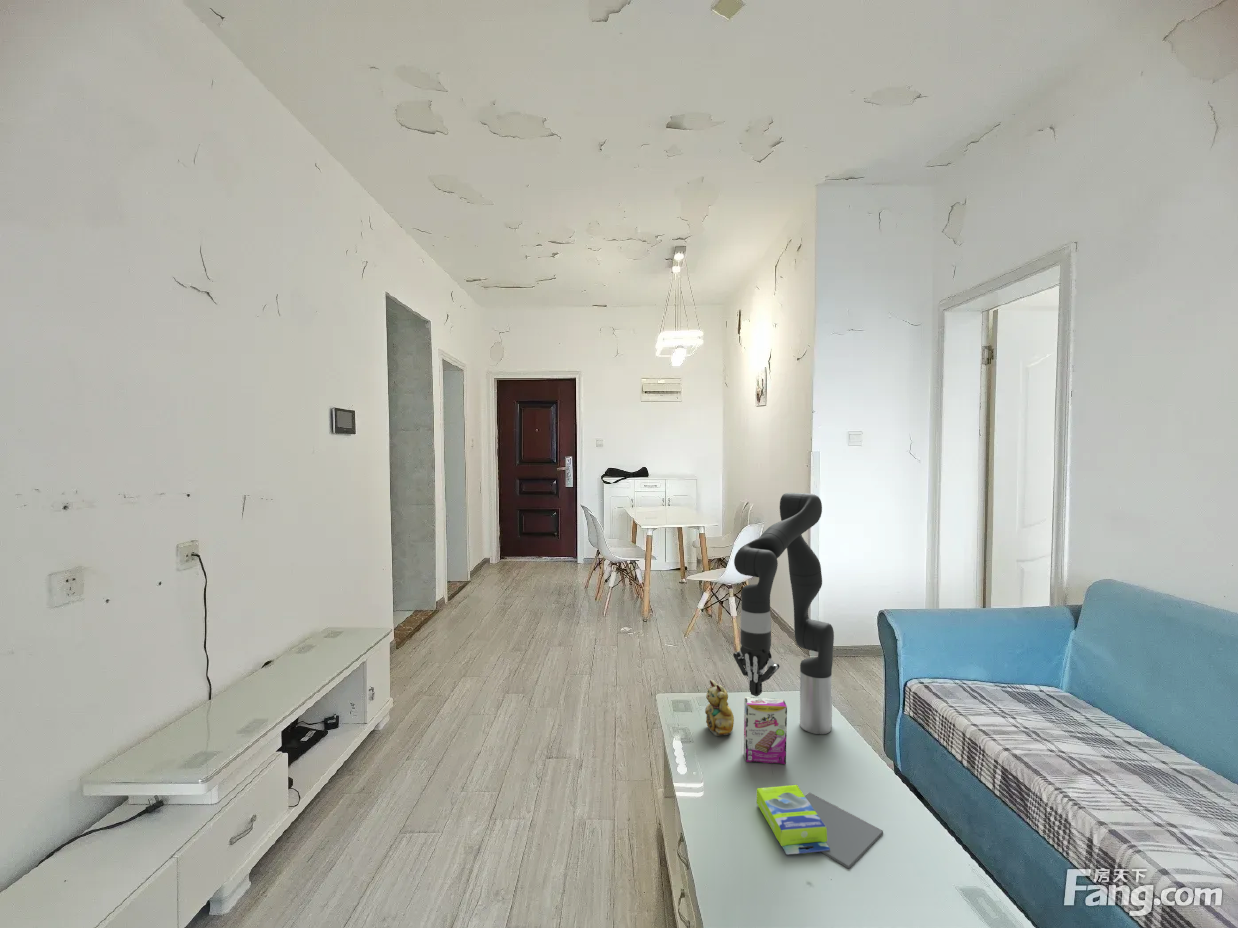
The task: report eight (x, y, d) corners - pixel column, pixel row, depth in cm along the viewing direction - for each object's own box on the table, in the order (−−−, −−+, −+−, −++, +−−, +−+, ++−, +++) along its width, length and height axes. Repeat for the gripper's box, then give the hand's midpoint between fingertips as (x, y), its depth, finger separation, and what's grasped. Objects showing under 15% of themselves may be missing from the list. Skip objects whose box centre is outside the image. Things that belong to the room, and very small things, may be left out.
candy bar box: (745, 763, 149) (745, 704, 149) (743, 753, 154) (743, 696, 154) (787, 765, 148) (787, 706, 147) (783, 755, 153) (783, 697, 152)
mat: (809, 794, 135) (809, 792, 135) (883, 833, 121) (883, 830, 121) (772, 823, 125) (772, 820, 125) (848, 868, 111) (848, 865, 111)
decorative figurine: (700, 725, 169) (700, 678, 169) (722, 720, 173) (722, 673, 172) (718, 740, 160) (718, 690, 160) (741, 734, 164) (741, 685, 163)
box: (796, 783, 132) (832, 831, 115) (797, 799, 132) (832, 850, 115) (755, 786, 131) (784, 836, 114) (755, 803, 131) (784, 856, 114)
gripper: (787, 630, 134) (786, 699, 135) (743, 618, 144) (743, 682, 145) (769, 637, 129) (769, 708, 130) (725, 623, 139) (725, 690, 140)
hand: (755, 694), depth 137 cm, fingers closed
